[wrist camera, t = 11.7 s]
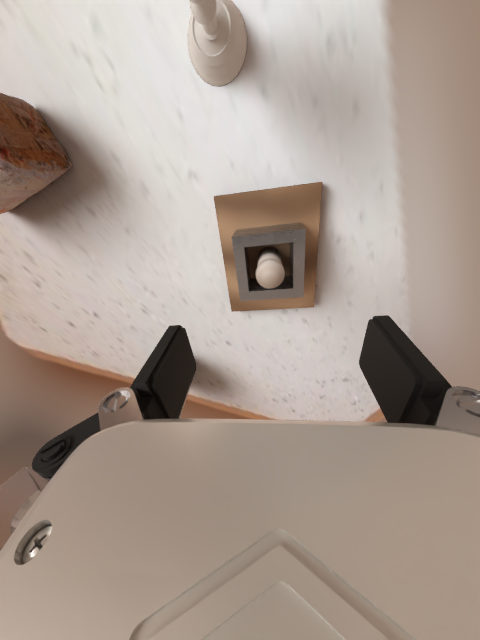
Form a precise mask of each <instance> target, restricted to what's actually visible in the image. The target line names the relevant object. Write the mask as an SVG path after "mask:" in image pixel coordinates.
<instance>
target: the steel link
mask: <svg viewBox="0 0 480 640" xmlns="http://www.w3.org/2000/svg"><path fill="white" fill-rule="evenodd" d="M305 236H306V229H305V227H304V226H303V225H302V224H301V223H300V222H298V223H289V224H281V225H272V226H263V227H255V228H246V229H237V230H236V231H235V232H234V234H233V235H232V244H233V252H234V259H235V266H236V274H237V281H238V288H239V296H240V301H250V300H265V299H281V298H296V297H304V268H305ZM282 243H290V275H286V276H284V279H283V281H282V283H281V284H280V285H279V286H277V287H275V288H271V289H268V288H264V287H262V286H261V285H260V284H259V283H258V281H257V279H256V278H251V274H250V264H249V254H248V247H252V246H262V245H272V244H282Z"/></svg>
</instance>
